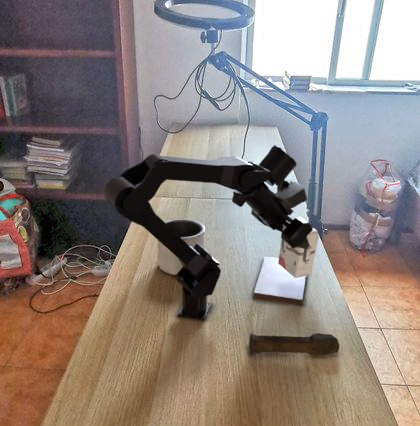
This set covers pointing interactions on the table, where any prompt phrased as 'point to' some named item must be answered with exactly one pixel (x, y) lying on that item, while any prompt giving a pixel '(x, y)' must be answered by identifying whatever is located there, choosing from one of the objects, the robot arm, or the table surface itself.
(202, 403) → the table surface
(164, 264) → the planter
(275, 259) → the walnut board
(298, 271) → the ink box
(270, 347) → the hand tool
